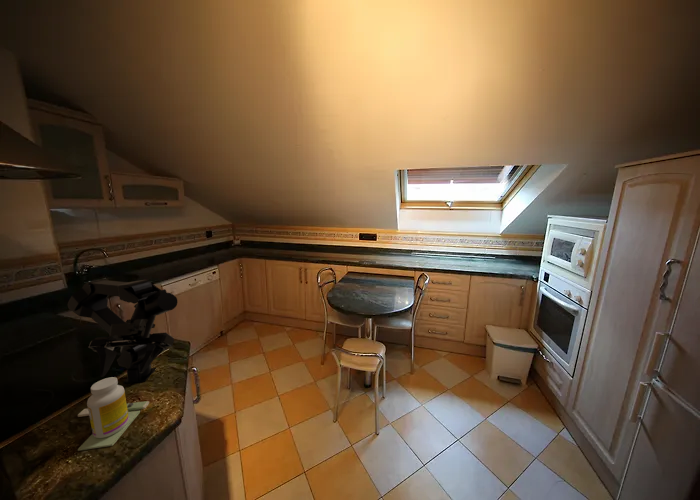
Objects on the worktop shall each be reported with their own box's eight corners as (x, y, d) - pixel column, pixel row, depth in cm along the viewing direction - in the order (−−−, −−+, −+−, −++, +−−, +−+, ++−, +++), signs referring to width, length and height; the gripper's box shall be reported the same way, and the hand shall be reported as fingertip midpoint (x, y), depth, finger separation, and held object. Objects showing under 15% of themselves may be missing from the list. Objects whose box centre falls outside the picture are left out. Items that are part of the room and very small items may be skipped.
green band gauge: (84, 410, 67) (83, 407, 67) (149, 403, 70) (148, 399, 70) (33, 457, 54) (32, 452, 54) (115, 445, 57) (114, 441, 57)
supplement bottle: (135, 416, 65) (129, 374, 63) (113, 439, 59) (105, 392, 56) (110, 417, 65) (103, 374, 63) (84, 440, 58) (75, 393, 56)
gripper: (88, 311, 66) (55, 373, 57) (164, 307, 69) (144, 365, 60) (114, 324, 75) (89, 380, 66) (180, 320, 78) (165, 372, 69)
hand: (121, 374), depth 65 cm, fingers open, 9 cm apart
